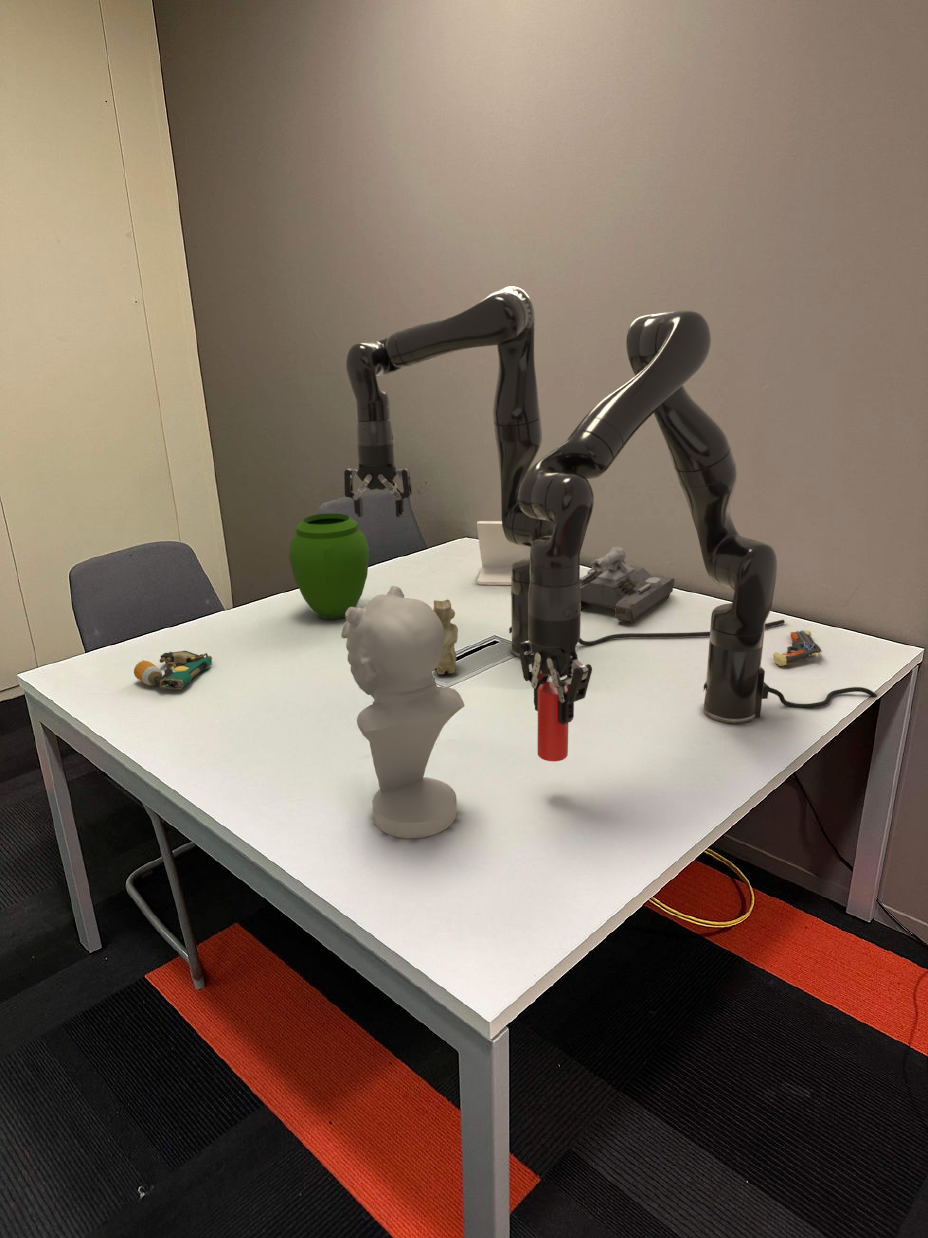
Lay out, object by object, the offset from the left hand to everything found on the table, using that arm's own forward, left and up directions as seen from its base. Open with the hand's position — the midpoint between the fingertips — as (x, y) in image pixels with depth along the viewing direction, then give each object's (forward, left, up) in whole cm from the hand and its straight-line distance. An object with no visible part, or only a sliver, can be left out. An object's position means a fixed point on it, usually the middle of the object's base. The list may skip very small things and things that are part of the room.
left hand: (379, 516), depth 186 cm
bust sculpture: (+7, +68, -29) cm, 75 cm away
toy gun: (-84, +29, -29) cm, 94 cm away
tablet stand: (-43, -39, -29) cm, 65 cm away
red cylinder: (-18, +72, -22) cm, 77 cm away
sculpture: (-10, +20, -29) cm, 37 cm away
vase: (+11, -22, -29) cm, 38 cm away
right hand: (-18, +72, -15) cm, 75 cm away
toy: (-59, -9, -29) cm, 66 cm away
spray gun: (+46, +8, -29) cm, 55 cm away
